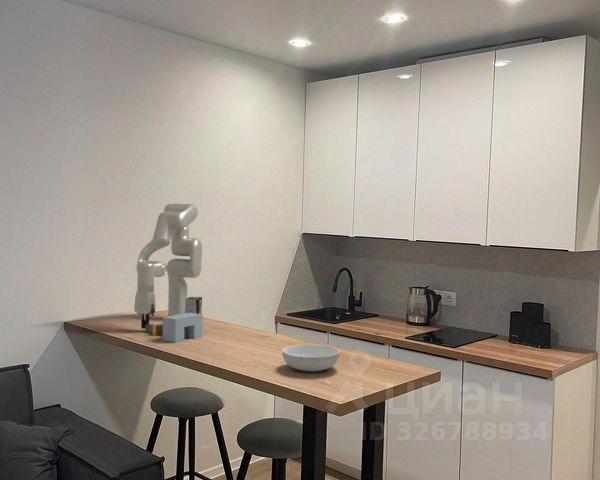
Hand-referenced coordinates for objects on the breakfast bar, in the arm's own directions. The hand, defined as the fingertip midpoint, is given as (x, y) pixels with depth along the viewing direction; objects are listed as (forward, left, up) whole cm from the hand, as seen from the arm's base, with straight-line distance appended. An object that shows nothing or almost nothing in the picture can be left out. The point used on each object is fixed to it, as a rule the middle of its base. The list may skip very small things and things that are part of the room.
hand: (145, 328), depth 274 cm
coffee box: (-13, +19, -2) cm, 23 cm away
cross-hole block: (0, +25, -1) cm, 25 cm away
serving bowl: (+5, +97, -2) cm, 97 cm away
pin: (0, +14, -1) cm, 14 cm away
